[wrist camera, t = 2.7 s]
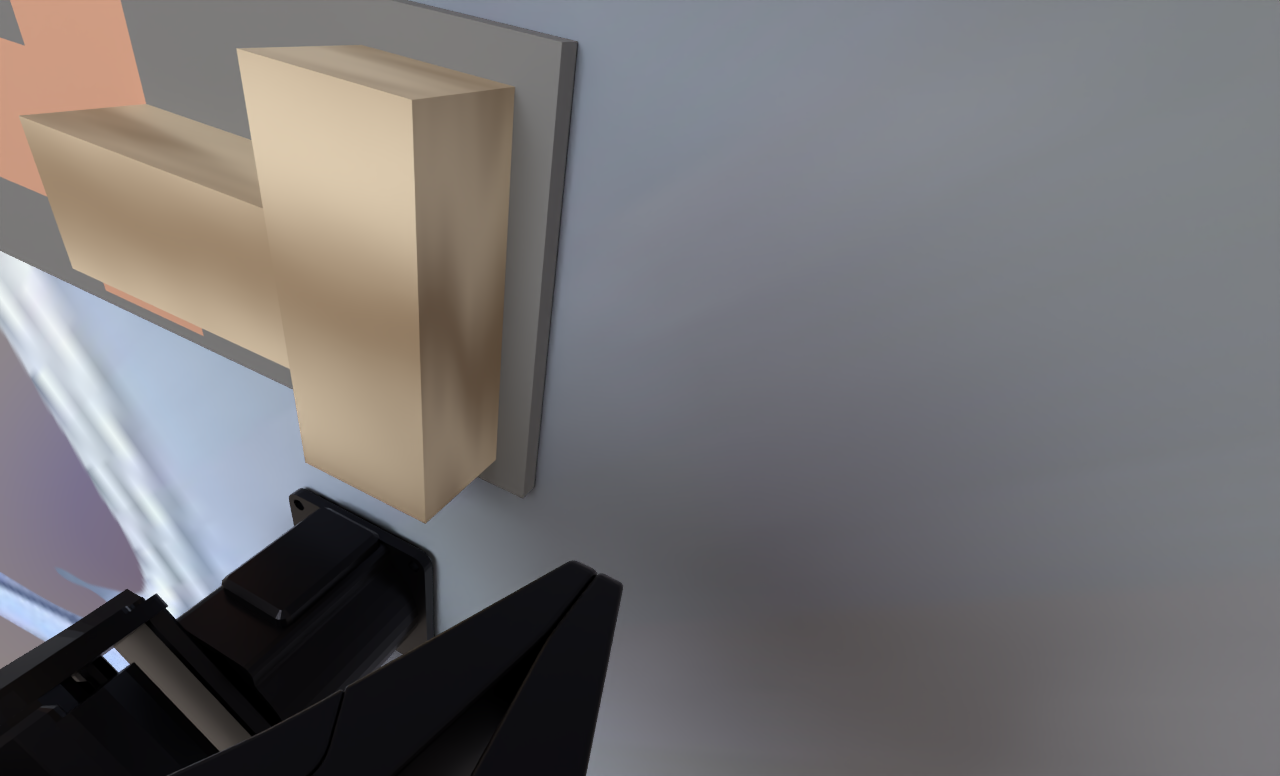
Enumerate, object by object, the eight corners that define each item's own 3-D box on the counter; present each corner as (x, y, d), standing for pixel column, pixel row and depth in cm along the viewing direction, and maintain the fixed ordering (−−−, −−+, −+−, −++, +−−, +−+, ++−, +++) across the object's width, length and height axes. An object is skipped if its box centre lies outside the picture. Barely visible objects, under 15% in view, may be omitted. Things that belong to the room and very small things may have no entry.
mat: (534, 486, 19) (522, 498, 19) (-14, 231, 26) (-32, 235, 26) (577, 41, 13) (561, 41, 12) (-170, -140, 20) (-199, -145, 19)
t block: (495, 459, 18) (425, 523, 16) (200, 323, 22) (105, 360, 19) (514, 86, 13) (411, 99, 11) (114, -23, 16) (-34, -32, 14)
